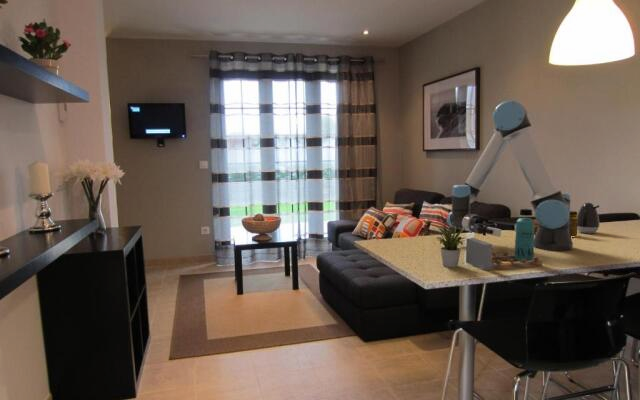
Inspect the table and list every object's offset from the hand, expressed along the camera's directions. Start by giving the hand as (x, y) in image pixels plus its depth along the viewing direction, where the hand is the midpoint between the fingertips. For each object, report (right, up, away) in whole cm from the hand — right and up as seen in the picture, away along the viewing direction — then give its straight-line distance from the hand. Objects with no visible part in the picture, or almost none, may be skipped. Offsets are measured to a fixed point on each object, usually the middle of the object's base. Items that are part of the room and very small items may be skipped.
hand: (514, 231), depth 167 cm
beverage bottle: (+2, -11, -2) cm, 12 cm away
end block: (-16, -12, -6) cm, 21 cm away
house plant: (-27, -12, -5) cm, 30 cm away
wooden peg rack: (-4, -11, -4) cm, 13 cm away
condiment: (+47, -6, +48) cm, 68 cm away
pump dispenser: (+61, -5, +56) cm, 83 cm away
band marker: (-8, -10, -5) cm, 14 cm away
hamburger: (+35, -5, +58) cm, 68 cm away
